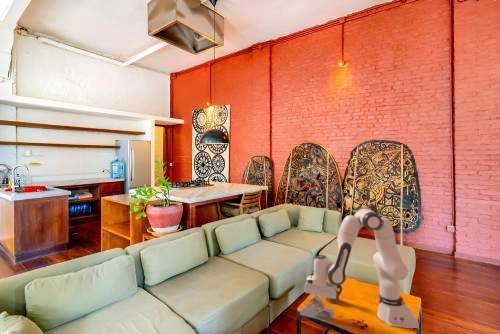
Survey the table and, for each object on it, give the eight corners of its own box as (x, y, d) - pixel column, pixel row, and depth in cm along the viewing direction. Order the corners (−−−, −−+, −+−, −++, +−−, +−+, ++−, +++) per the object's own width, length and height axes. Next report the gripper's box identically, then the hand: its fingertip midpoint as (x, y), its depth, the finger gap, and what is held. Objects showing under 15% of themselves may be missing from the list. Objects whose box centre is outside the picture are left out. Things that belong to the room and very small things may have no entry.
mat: (334, 310, 169) (334, 309, 169) (331, 322, 157) (331, 322, 157) (304, 303, 177) (304, 303, 177) (299, 315, 165) (299, 314, 165)
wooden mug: (346, 306, 174) (346, 280, 174) (325, 302, 178) (325, 277, 178) (345, 299, 183) (345, 274, 182) (325, 296, 187) (325, 272, 186)
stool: (324, 303, 169) (314, 294, 171) (323, 310, 161) (312, 300, 164) (319, 309, 170) (310, 300, 173) (318, 316, 163) (307, 306, 165)
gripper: (337, 281, 164) (336, 302, 165) (305, 275, 172) (305, 295, 173) (336, 286, 158) (336, 308, 159) (303, 279, 167) (303, 300, 167)
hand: (319, 301), depth 166 cm, fingers closed
